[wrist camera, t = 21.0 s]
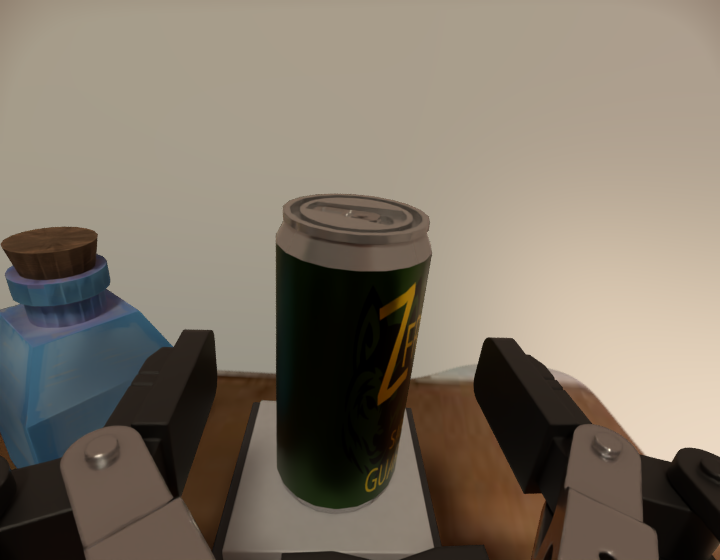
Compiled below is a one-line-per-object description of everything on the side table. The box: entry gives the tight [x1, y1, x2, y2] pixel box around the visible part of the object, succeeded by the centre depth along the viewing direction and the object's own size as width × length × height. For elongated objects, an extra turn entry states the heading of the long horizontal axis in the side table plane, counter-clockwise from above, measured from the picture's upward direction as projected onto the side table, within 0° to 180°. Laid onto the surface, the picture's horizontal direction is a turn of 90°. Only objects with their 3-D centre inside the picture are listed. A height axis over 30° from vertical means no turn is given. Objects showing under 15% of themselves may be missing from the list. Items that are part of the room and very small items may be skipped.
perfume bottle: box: [0, 227, 173, 469], centre depth 19 cm, size 6×6×12 cm
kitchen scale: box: [212, 401, 441, 560], centre depth 19 cm, size 9×9×3 cm
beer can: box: [276, 194, 432, 514], centre depth 16 cm, size 5×5×12 cm
